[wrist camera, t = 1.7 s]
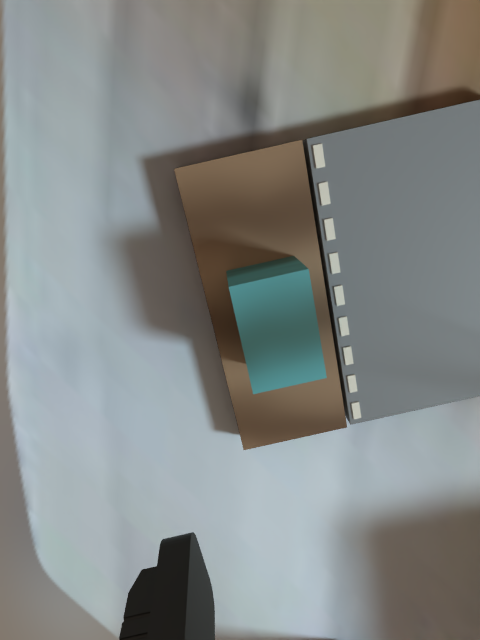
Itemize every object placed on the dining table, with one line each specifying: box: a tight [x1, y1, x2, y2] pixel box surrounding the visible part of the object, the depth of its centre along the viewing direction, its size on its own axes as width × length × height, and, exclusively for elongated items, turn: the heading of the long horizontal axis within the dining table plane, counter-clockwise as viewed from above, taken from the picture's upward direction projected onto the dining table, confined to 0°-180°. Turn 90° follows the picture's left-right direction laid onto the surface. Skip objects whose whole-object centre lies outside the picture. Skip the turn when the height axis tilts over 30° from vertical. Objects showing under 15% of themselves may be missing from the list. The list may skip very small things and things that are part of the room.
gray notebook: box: [302, 100, 480, 425], centre depth 26 cm, size 18×11×2 cm, turn 12°
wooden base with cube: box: [174, 140, 347, 450], centre depth 24 cm, size 18×7×6 cm, turn 12°
